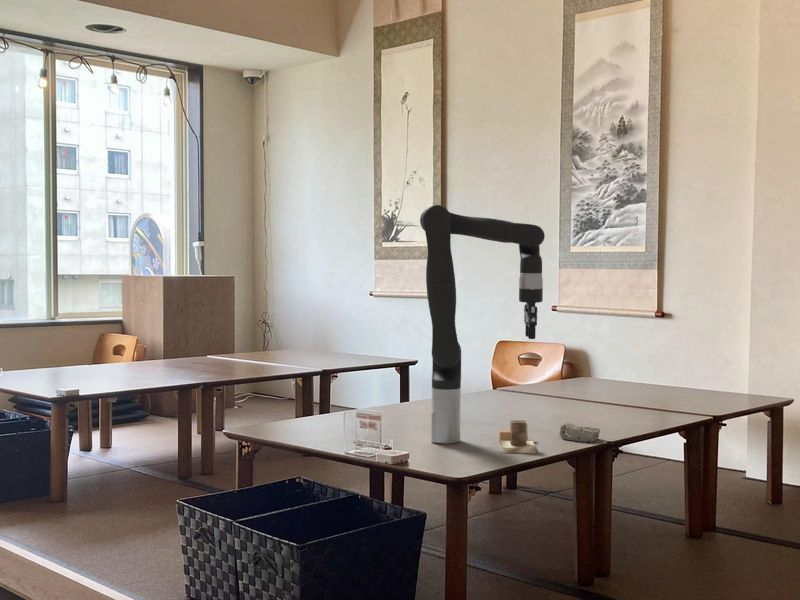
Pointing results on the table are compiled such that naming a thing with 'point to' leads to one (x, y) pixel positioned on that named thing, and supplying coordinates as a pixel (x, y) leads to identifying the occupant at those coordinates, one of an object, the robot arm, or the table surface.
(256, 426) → the table surface
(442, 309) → the robot arm
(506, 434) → the ochre cube
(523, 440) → the walnut block
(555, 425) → the table surface
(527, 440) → the grey-green square block
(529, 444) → the board
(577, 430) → the stone
